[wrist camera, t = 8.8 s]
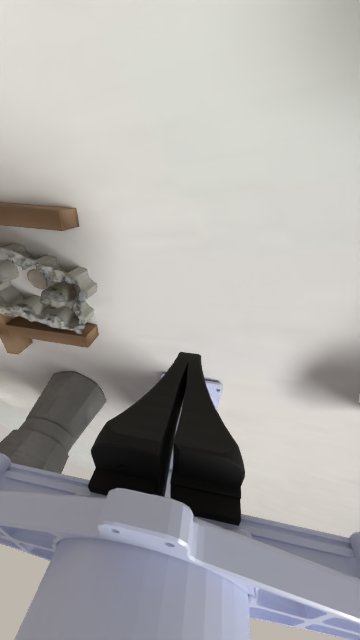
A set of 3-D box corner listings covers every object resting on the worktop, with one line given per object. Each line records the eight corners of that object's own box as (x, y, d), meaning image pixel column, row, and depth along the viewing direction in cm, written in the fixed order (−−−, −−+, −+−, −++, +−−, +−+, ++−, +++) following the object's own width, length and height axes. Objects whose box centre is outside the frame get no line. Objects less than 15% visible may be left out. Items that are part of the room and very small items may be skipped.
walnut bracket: (101, 353, 28) (92, 366, 26) (22, 340, 30) (7, 352, 28) (68, 167, 18) (48, 164, 16) (-52, 160, 19) (-86, 157, 17)
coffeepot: (83, 356, 29) (-65, 536, 14) (128, 399, 33) (46, 583, 18) (24, 388, 36) (-122, 536, 21) (67, 422, 39) (-32, 571, 24)
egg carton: (10, 291, 26) (-23, 307, 23) (6, 230, 22) (-35, 238, 19) (93, 327, 27) (73, 347, 23) (104, 273, 23) (82, 289, 19)
